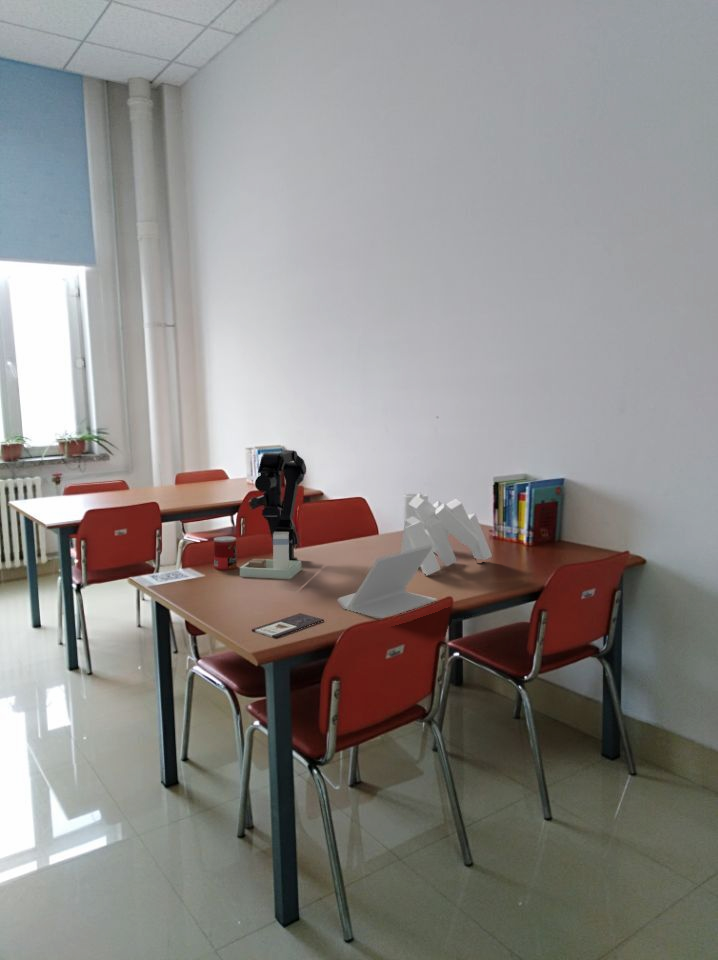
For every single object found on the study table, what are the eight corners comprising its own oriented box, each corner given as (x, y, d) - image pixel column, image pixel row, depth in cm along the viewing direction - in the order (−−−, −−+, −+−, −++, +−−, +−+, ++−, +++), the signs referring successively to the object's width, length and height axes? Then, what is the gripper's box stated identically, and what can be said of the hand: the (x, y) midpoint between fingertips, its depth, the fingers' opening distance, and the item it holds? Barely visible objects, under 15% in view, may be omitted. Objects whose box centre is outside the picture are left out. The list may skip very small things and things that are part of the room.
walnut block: (253, 570, 249) (253, 558, 248) (265, 570, 248) (265, 559, 247) (248, 573, 244) (248, 562, 243) (261, 574, 243) (261, 562, 243)
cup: (399, 545, 292) (399, 493, 290) (423, 544, 295) (423, 493, 292) (407, 551, 282) (407, 497, 280) (431, 549, 285) (432, 496, 282)
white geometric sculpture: (449, 567, 278) (407, 488, 275) (513, 547, 259) (468, 463, 256) (405, 612, 252) (358, 526, 249) (472, 594, 233) (423, 501, 230)
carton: (274, 571, 247) (273, 531, 245) (289, 571, 247) (288, 531, 245) (273, 575, 242) (272, 534, 240) (288, 575, 242) (287, 534, 240)
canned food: (232, 571, 249) (231, 540, 247) (210, 570, 250) (209, 539, 249) (240, 566, 256) (239, 536, 255) (219, 565, 258) (218, 535, 256)
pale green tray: (253, 568, 253) (253, 558, 253) (301, 570, 250) (301, 561, 249) (239, 577, 240) (239, 567, 240) (290, 580, 237) (289, 570, 236)
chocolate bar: (323, 619, 193) (275, 636, 180) (323, 622, 194) (275, 640, 180) (300, 613, 199) (251, 629, 185) (300, 616, 199) (251, 632, 185)
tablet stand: (437, 601, 213) (438, 545, 211) (384, 620, 195) (384, 559, 193) (390, 590, 225) (390, 537, 223) (336, 608, 207) (336, 550, 205)
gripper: (253, 485, 260) (253, 527, 262) (246, 491, 242) (247, 537, 243) (283, 485, 260) (284, 527, 262) (279, 491, 242) (280, 537, 244)
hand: (273, 532), depth 253 cm, fingers open, 9 cm apart
